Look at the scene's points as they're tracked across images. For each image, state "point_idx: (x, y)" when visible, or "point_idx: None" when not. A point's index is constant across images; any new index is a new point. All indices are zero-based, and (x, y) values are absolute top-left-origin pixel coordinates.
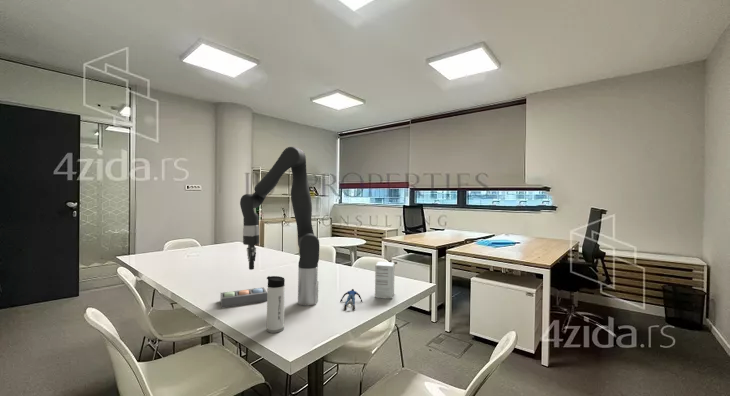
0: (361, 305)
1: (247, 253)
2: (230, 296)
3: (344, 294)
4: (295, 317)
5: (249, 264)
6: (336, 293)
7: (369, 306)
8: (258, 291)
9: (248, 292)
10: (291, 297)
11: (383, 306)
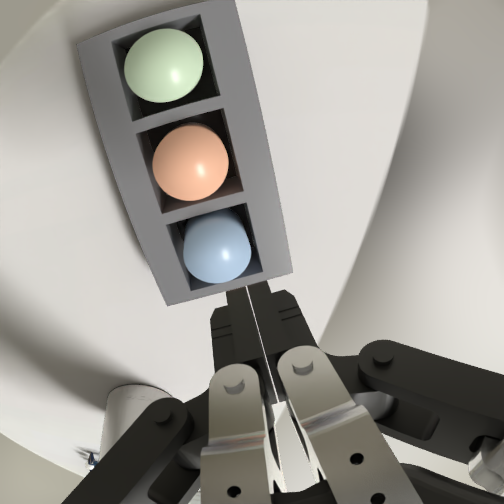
0: None
1: (349, 487)
2: (117, 85)
3: None
4: (12, 367)
5: (232, 339)
6: None
7: None
8: (185, 259)
9: (177, 196)
10: (212, 365)
11: None
